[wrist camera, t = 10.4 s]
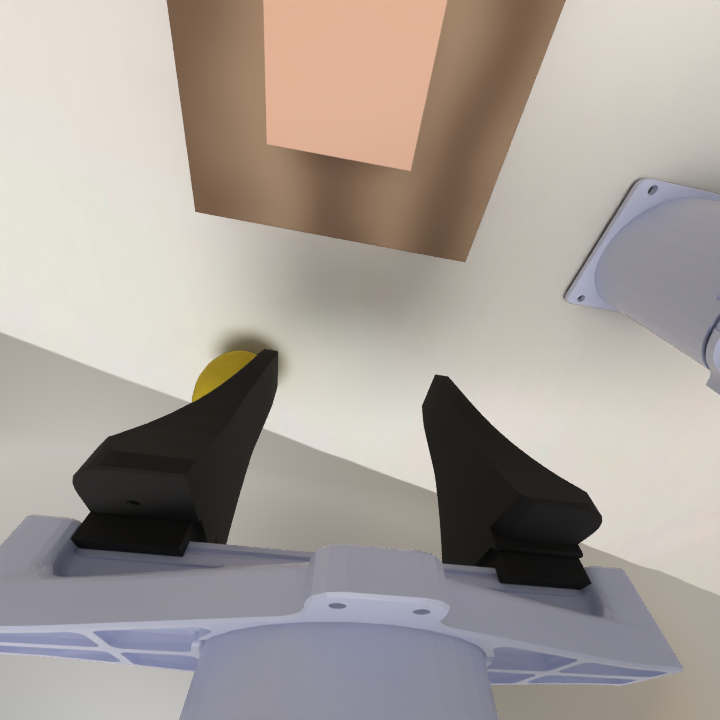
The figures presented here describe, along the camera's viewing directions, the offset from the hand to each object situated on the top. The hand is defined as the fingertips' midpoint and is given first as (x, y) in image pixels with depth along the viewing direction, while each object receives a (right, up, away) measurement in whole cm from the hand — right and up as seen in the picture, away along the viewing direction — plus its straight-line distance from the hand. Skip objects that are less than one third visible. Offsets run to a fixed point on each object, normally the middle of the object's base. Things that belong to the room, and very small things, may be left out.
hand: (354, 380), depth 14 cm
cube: (0, +13, 0) cm, 13 cm away
